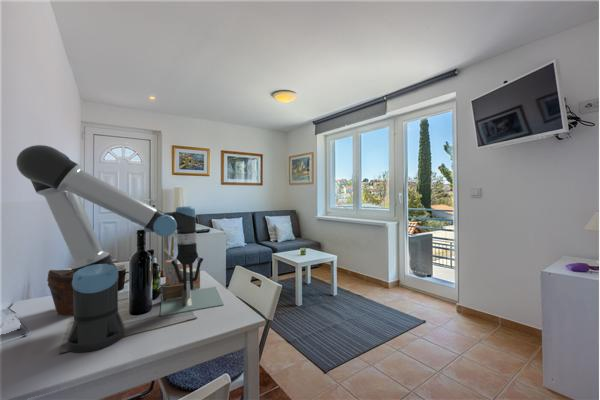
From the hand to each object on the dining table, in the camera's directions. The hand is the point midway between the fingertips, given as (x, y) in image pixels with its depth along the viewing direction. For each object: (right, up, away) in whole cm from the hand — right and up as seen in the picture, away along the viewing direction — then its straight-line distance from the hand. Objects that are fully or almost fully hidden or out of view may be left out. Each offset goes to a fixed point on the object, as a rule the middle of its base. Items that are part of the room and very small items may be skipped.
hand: (188, 297), depth 118 cm
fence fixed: (-8, -3, +6) cm, 10 cm away
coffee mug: (-42, -3, +18) cm, 46 cm away
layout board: (-1, -3, +4) cm, 5 cm away
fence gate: (-2, -2, +1) cm, 3 cm away
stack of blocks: (-13, -3, +24) cm, 27 cm away
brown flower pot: (-44, -4, -4) cm, 45 cm away
